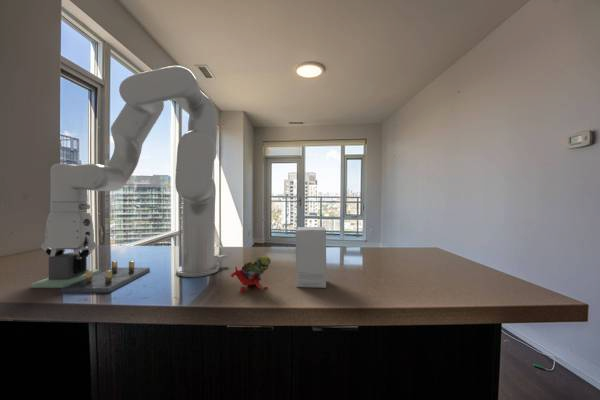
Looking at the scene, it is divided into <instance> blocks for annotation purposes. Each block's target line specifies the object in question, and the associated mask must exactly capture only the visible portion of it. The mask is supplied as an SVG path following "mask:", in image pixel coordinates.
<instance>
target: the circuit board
mask: <svg viewBox="0 0 600 400" xmlns="http://www.w3.org/2000/svg"><path fill="white" fill-rule="evenodd" d="M80 253H81V251H80ZM87 258H88V257H86V268H85V271H84V272H81V273H78V274H74V260H76V257H75V254H74V251H71V252H70V251H69V252H64V254H61V255H57V256H53V257H50V256H49V257H48V277H47V278H44V279H40V280H38V281H35V282H32V283H30V288H31V289H32V288H37V289H38V288H40V289H41V288H45V289H46V288H53V289H54V288H62V289H63V288H64V287H67V286H69V285H72V284H74V283H77V282H79V281H82V280H84V279H86V271H87V270H90V269H89V268H87V265H88V264H87V263H88V262H87ZM92 270H93V276H94V275H97V274H99V273H101V270H100V269H92Z"/></svg>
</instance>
